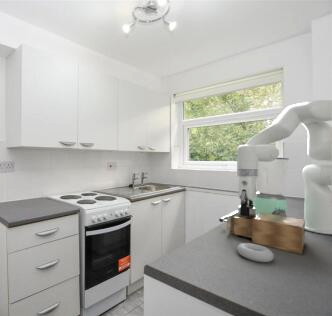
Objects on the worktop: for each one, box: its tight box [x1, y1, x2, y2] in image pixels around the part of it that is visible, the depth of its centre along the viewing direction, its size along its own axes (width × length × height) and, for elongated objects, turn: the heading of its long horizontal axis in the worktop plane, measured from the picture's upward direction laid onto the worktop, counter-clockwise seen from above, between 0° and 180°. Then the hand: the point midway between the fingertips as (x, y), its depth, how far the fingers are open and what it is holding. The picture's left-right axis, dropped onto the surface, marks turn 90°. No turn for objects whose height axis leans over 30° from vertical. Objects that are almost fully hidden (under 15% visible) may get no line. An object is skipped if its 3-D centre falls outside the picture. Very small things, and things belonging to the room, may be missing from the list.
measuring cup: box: [238, 205, 256, 220], centre depth 96 cm, size 6×6×9 cm
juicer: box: [252, 156, 290, 217], centre depth 108 cm, size 19×13×35 cm
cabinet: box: [251, 213, 306, 255], centre depth 88 cm, size 15×15×10 cm
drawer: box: [218, 210, 256, 239], centre depth 96 cm, size 18×13×8 cm
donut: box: [237, 242, 275, 263], centre depth 75 cm, size 10×4×10 cm
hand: (246, 214), depth 96 cm, fingers closed on measuring cup, 6 cm apart
